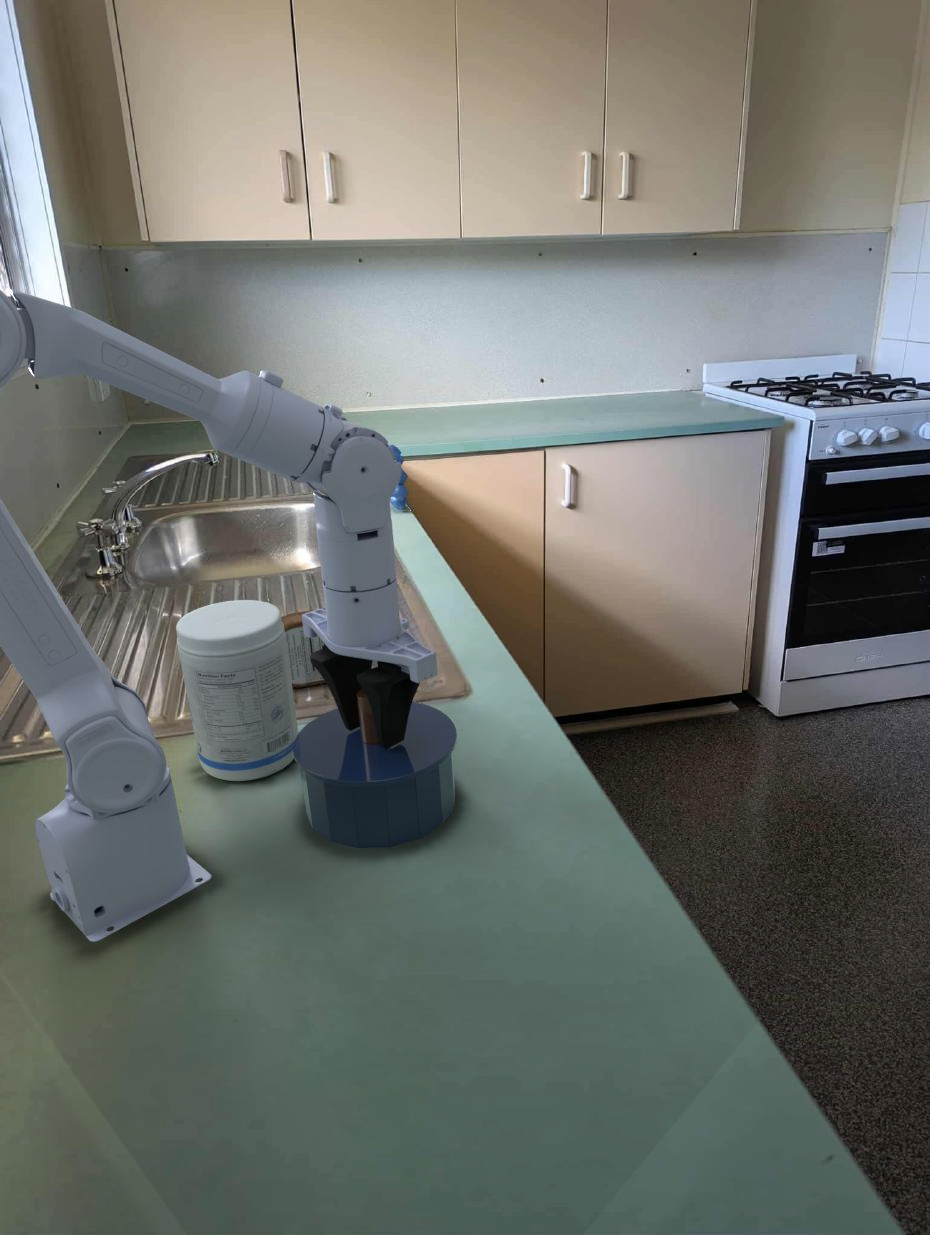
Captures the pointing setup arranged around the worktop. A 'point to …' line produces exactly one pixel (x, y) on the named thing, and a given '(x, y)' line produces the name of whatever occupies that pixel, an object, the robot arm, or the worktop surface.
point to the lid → (373, 747)
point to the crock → (381, 808)
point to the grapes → (399, 484)
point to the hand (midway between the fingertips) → (374, 734)
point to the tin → (302, 651)
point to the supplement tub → (238, 688)
